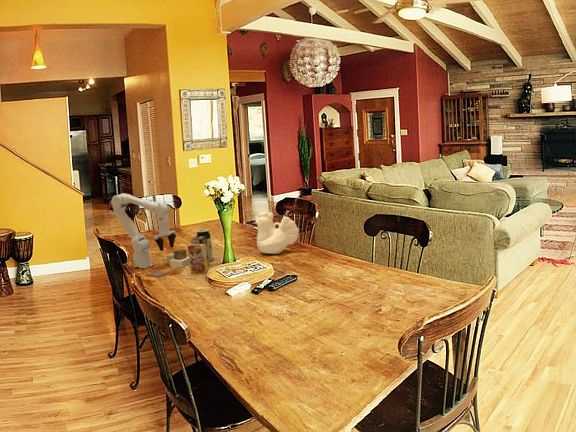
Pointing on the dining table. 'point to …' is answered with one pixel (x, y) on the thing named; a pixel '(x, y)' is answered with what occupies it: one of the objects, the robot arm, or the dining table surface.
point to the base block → (179, 262)
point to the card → (157, 274)
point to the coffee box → (201, 241)
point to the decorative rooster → (275, 233)
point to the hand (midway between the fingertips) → (166, 248)
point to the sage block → (170, 257)
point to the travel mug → (206, 233)
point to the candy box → (197, 258)
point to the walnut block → (180, 254)
